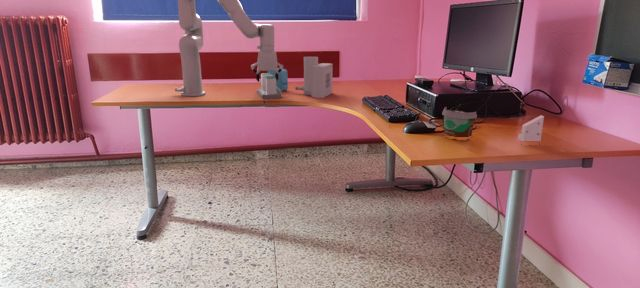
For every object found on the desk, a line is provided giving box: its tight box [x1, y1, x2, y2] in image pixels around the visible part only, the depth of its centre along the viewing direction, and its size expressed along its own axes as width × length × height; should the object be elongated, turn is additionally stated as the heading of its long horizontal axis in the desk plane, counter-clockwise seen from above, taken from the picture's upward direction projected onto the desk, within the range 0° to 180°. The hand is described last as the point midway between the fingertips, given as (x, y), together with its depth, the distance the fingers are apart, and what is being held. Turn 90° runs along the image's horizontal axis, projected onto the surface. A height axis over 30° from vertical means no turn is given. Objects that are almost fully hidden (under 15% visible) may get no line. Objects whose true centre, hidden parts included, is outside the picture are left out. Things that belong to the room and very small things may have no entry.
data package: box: [267, 67, 289, 92], centre depth 250 cm, size 12×4×12 cm, turn 48°
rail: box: [256, 72, 282, 100], centre depth 233 cm, size 10×20×11 cm, turn 16°
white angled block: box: [517, 114, 545, 142], centre depth 144 cm, size 4×10×9 cm
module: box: [262, 75, 274, 93], centre depth 233 cm, size 5×8×8 cm, turn 16°
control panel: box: [295, 56, 334, 99], centre depth 234 cm, size 16×19×20 cm
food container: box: [441, 106, 478, 137], centre depth 151 cm, size 12×6×10 cm, turn 45°
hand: (267, 81), depth 232 cm, fingers open, 9 cm apart
